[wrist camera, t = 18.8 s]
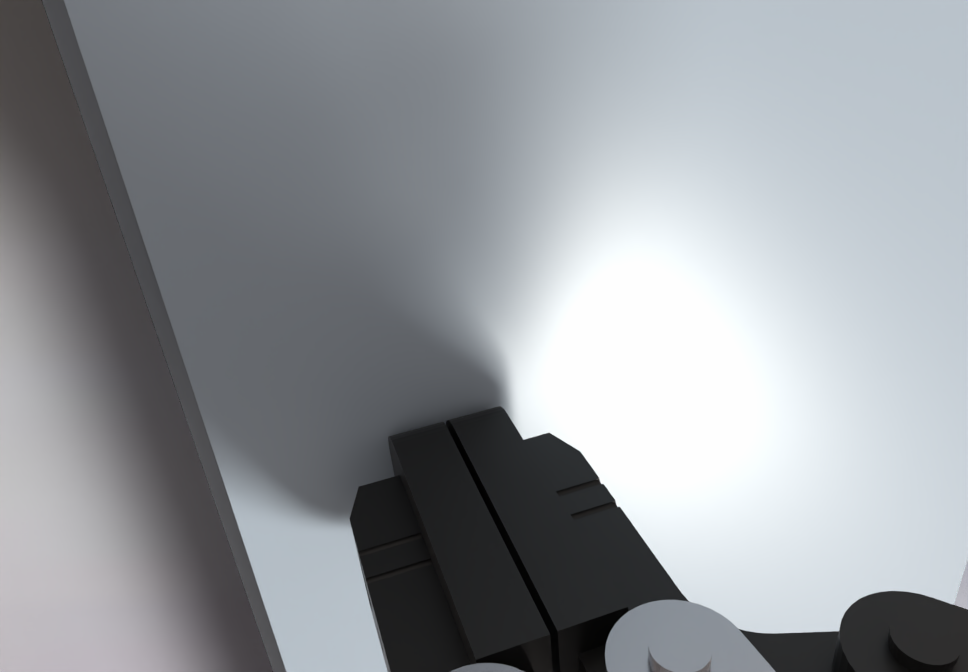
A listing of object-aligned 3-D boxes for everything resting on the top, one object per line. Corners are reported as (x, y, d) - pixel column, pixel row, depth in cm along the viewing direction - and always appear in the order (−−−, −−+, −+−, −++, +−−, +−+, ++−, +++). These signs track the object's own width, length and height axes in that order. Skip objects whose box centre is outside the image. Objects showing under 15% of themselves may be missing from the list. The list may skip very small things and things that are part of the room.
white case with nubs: (336, 779, 20) (363, 933, 17) (-134, -708, 7) (-335, -1093, 5) (790, 613, 23) (880, 719, 20) (987, -642, 10) (1298, -847, 8)
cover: (380, 941, 17) (389, 990, 16) (-297, -1133, 4) (-393, -1347, 4) (892, 718, 20) (921, 751, 19) (1334, -853, 7) (1461, -934, 7)
